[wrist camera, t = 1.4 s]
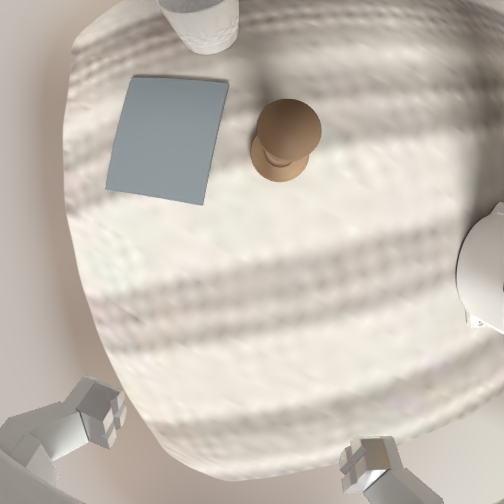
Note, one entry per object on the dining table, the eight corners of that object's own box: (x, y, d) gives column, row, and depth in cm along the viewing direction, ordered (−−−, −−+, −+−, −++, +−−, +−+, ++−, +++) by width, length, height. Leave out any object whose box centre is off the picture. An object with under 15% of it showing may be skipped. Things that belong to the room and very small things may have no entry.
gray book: (229, 85, 29) (228, 83, 28) (202, 205, 31) (201, 205, 31) (134, 79, 29) (131, 77, 28) (108, 189, 31) (105, 189, 31)
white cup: (257, 32, 27) (255, -18, 18) (208, 70, 29) (188, 27, 19) (214, 3, 27) (200, -45, 17) (167, 38, 28) (139, -4, 18)
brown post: (311, 134, 30) (338, 100, 18) (301, 187, 31) (324, 180, 19) (257, 123, 30) (254, 81, 18) (246, 175, 31) (236, 161, 19)
